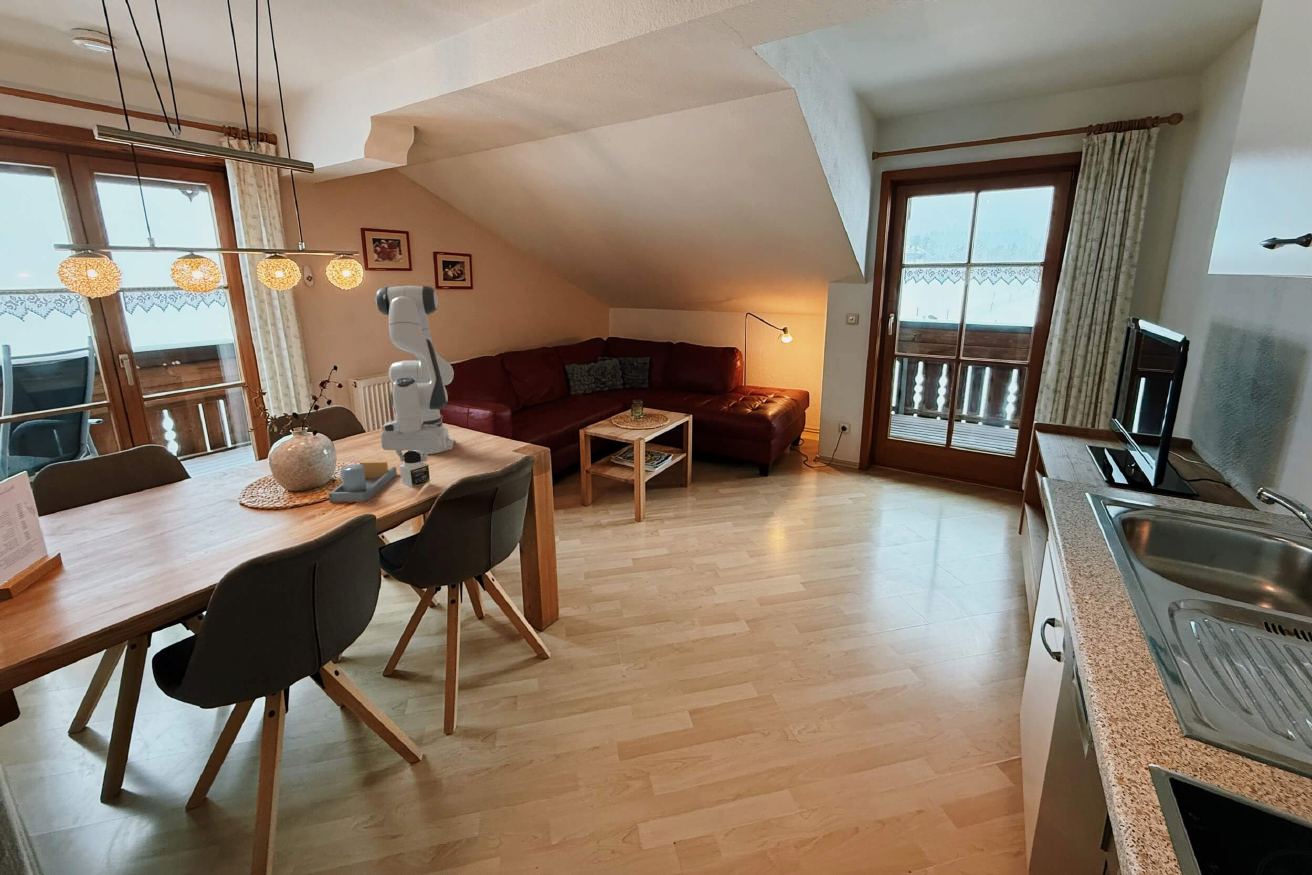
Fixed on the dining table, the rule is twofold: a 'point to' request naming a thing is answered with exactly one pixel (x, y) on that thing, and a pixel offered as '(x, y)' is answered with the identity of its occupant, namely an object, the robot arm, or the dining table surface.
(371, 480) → the blue-grey tray
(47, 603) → the dining table surface
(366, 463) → the block
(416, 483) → the medicine bottle
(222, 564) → the dining table surface
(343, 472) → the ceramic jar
